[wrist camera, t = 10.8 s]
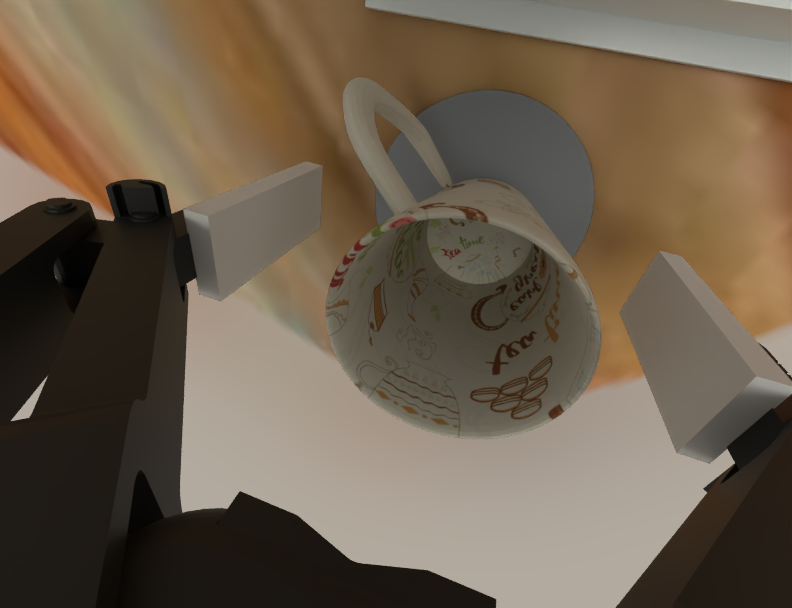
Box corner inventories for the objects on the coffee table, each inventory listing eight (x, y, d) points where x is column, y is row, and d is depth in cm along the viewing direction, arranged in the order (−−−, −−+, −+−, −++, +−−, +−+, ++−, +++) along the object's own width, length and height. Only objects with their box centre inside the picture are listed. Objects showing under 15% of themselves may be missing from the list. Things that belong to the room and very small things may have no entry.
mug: (451, 322, 22) (413, 458, 14) (329, 140, 19) (184, 180, 11) (591, 265, 18) (650, 409, 10) (468, 17, 15) (405, -70, 7)
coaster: (394, 68, 17) (391, 68, 16) (640, 117, 15) (643, 118, 15) (366, 272, 23) (364, 275, 23) (540, 323, 21) (540, 327, 21)
